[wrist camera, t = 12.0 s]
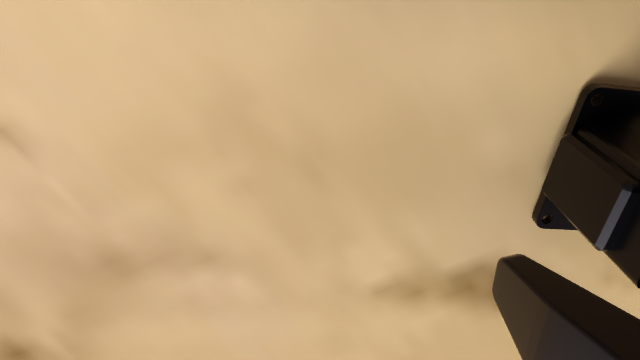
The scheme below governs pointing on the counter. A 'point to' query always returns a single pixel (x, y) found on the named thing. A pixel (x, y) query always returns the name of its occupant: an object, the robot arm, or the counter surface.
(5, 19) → the counter surface
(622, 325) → the robot arm
